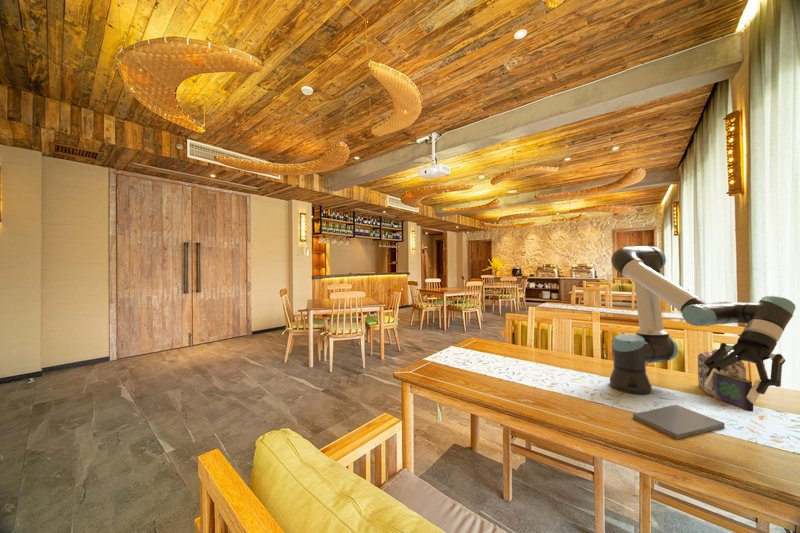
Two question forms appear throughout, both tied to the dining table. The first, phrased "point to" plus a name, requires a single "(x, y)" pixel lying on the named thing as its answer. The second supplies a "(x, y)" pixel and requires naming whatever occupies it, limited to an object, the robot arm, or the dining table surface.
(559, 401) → the dining table surface
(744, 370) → the decorative jar
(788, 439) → the dining table surface
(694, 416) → the slate board
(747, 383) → the flask
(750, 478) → the dining table surface
